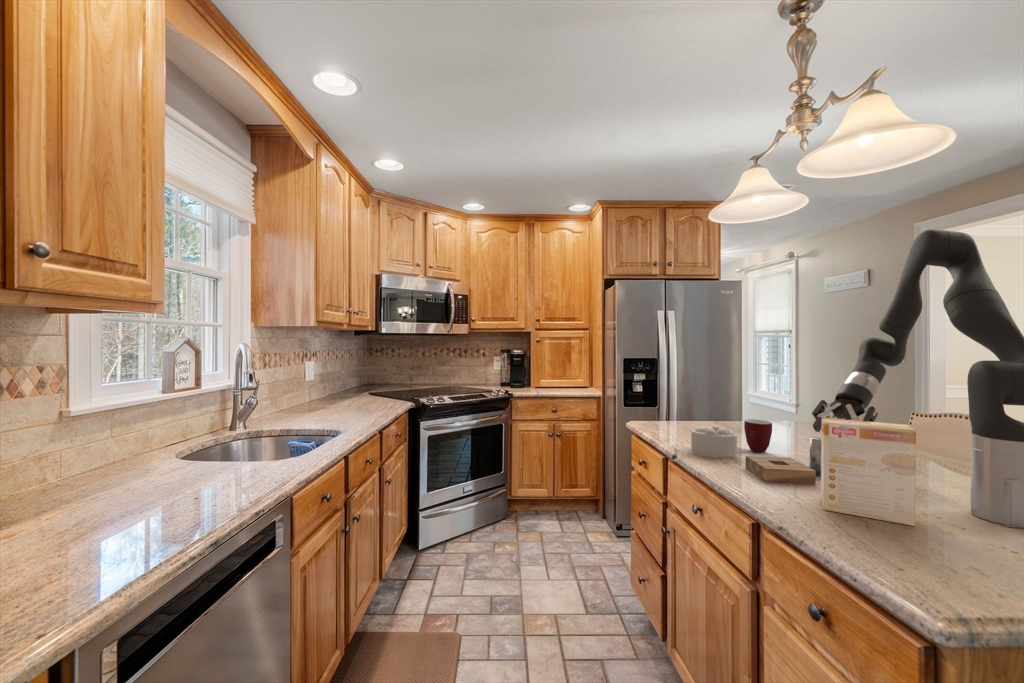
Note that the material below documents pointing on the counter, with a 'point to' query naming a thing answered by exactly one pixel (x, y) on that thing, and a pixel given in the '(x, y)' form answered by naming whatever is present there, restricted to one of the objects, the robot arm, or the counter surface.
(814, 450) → the pin
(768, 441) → the mug
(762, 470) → the hole block
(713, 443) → the lumpy-topped squat cylinder
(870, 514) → the coffeecake box
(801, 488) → the counter surface
